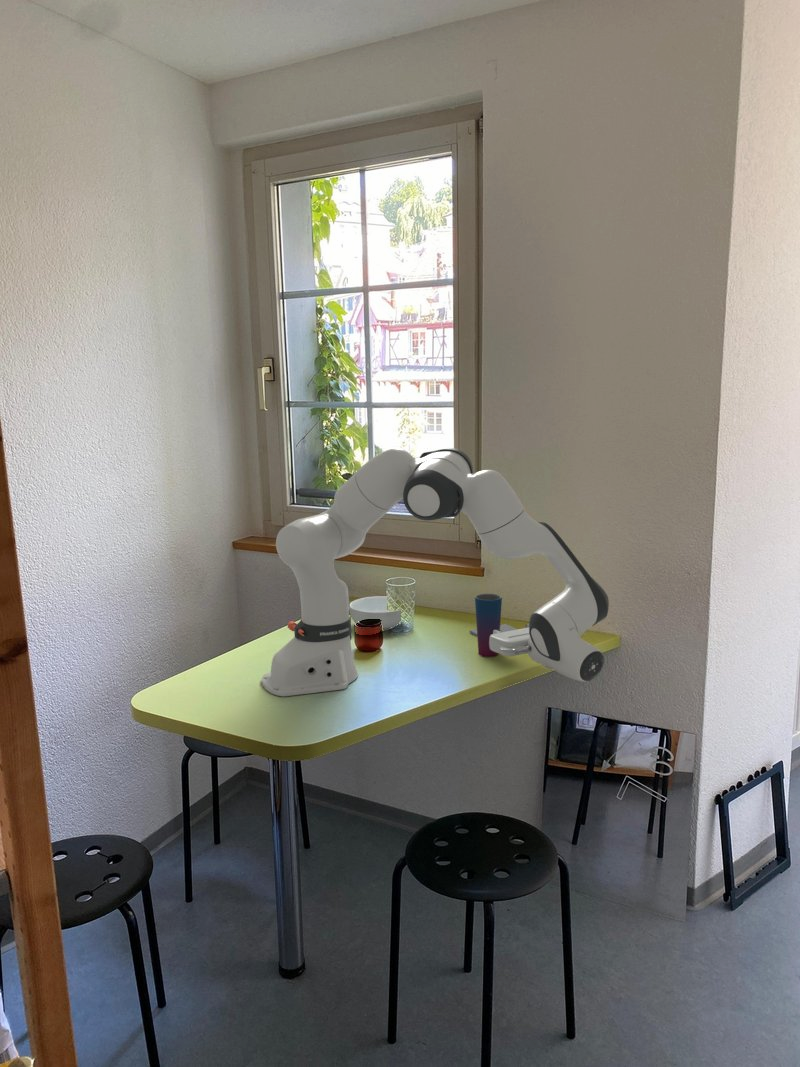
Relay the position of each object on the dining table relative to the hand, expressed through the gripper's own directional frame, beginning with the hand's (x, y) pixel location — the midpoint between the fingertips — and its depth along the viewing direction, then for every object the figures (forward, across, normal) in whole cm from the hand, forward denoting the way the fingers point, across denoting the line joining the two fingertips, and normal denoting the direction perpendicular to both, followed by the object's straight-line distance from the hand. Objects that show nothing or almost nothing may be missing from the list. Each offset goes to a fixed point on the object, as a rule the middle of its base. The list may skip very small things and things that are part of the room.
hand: (511, 629), depth 193 cm
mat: (+17, +11, -9) cm, 22 cm away
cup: (+10, 0, -9) cm, 14 cm away
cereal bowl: (+45, -14, -10) cm, 48 cm away
